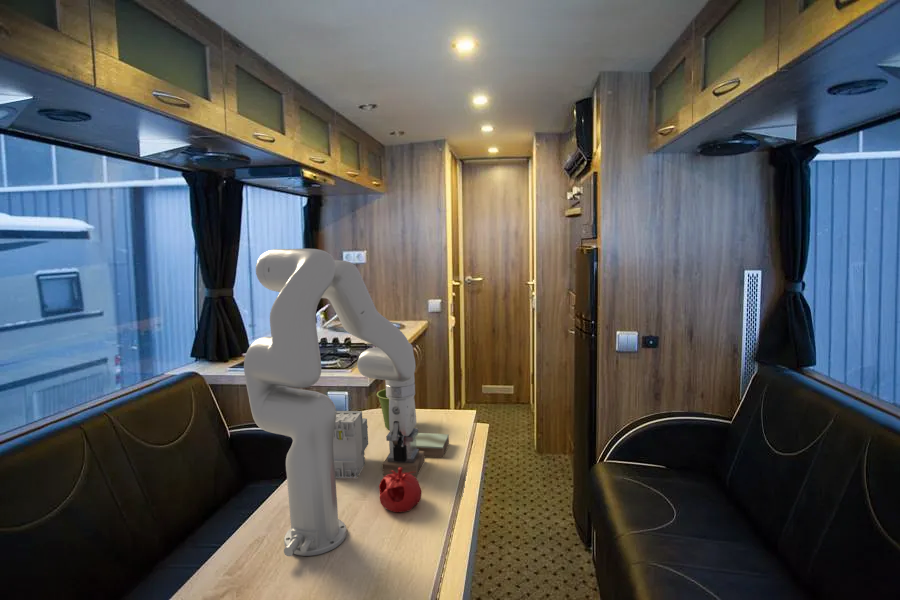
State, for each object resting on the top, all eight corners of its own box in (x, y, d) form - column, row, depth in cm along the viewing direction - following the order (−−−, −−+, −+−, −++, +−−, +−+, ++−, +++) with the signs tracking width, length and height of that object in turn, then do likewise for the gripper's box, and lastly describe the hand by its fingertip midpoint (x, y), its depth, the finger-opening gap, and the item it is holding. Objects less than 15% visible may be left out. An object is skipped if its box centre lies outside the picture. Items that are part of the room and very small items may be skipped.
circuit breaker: (370, 454, 151) (367, 403, 148) (357, 478, 137) (353, 422, 134) (344, 453, 151) (341, 403, 149) (328, 477, 137) (324, 422, 135)
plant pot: (414, 433, 165) (413, 398, 163) (376, 434, 164) (374, 399, 163) (416, 419, 176) (415, 386, 175) (380, 420, 176) (378, 387, 174)
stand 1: (416, 477, 136) (416, 466, 136) (382, 475, 138) (382, 464, 137) (424, 461, 145) (424, 451, 144) (392, 459, 146) (392, 449, 146)
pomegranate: (402, 490, 130) (401, 454, 129) (430, 504, 123) (429, 466, 122) (369, 506, 123) (368, 467, 122) (397, 521, 116) (395, 481, 115)
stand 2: (443, 457, 147) (442, 447, 146) (411, 455, 149) (410, 445, 148) (448, 443, 156) (448, 434, 155) (418, 442, 157) (418, 432, 157)
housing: (413, 463, 137) (412, 437, 136) (387, 461, 139) (386, 436, 137) (419, 453, 143) (418, 428, 142) (394, 452, 144) (392, 427, 143)
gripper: (405, 401, 129) (409, 471, 132) (422, 380, 146) (424, 442, 148) (376, 400, 130) (379, 469, 133) (395, 379, 147) (398, 441, 150)
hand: (403, 454), depth 141 cm, fingers closed on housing, 6 cm apart
